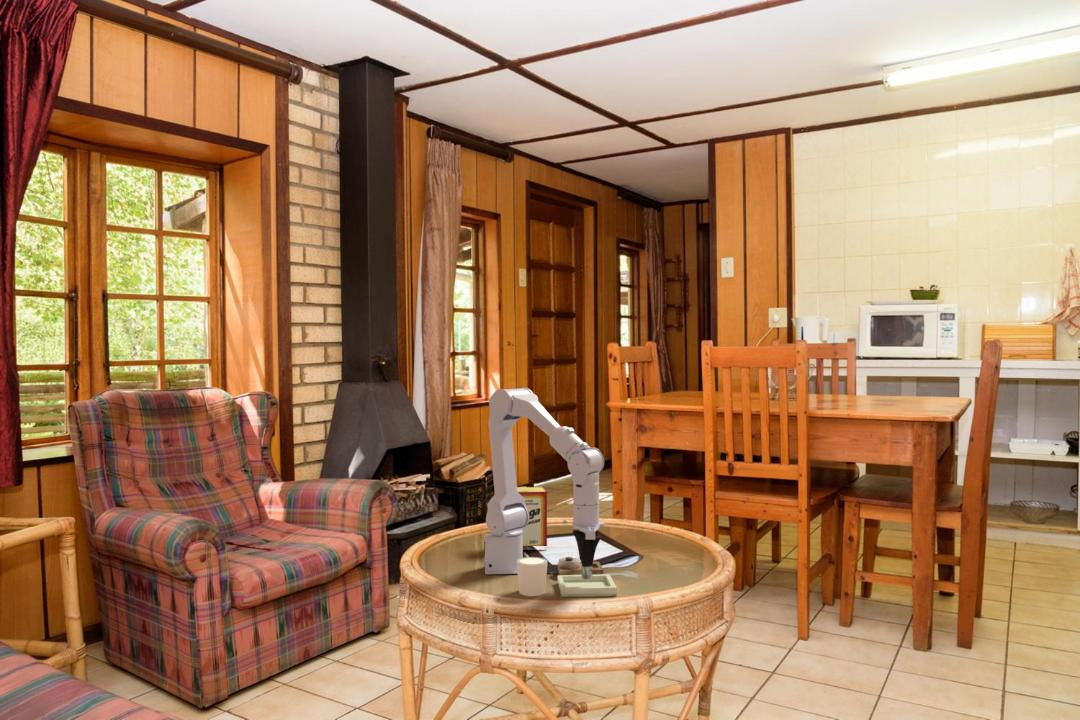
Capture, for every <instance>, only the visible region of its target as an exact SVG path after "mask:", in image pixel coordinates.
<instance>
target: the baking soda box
mask: <svg viewBox="0 0 1080 720" xmlns="http://www.w3.org/2000/svg"><path fill="white" fill-rule="evenodd" d="M517 492H518V493H519V494H520V495H521V496H522V497H523V498H524V499H525V505H526V508H527V510H528V512H529V522H528V524H527V526H526V527H524V532H523V546H547V547H548V491H547V490H546V488H545V487H543V486H533V487H532V486H528V487H527V486H517Z"/></svg>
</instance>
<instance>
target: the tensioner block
mask: <svg viewBox="0 0 1080 720" xmlns="http://www.w3.org/2000/svg"><path fill="white" fill-rule="evenodd" d="M557 573H558V575H582V564H581V561H580V558H577V557H572V556H567V557H561V558H559V559H558V562H557ZM597 574H604V569H603V567H602V565H601V563H600V561H593V564H592V575H597Z"/></svg>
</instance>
